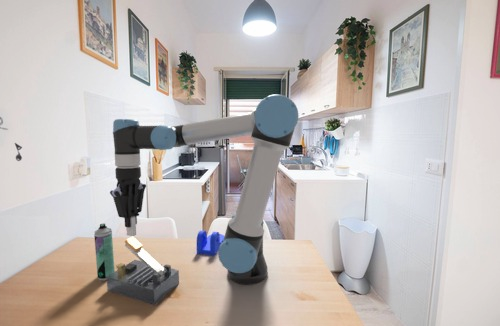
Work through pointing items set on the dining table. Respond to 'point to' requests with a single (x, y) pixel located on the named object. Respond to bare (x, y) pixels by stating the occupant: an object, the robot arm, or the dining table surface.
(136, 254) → the bar
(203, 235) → the bracket
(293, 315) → the dining table surface
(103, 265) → the spray can
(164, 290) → the finned block
